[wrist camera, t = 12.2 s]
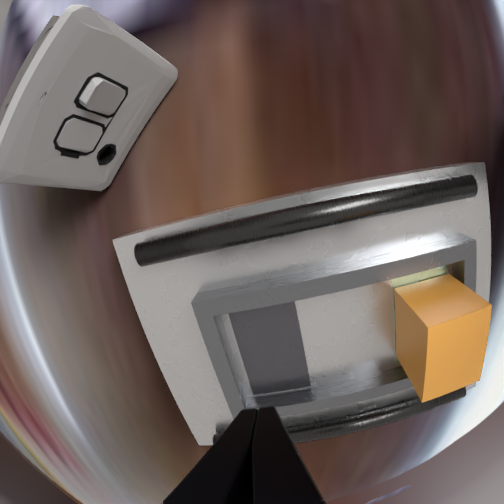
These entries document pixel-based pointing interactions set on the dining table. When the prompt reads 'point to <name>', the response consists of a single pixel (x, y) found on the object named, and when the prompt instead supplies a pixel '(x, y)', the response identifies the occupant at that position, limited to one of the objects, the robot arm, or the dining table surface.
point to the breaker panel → (304, 297)
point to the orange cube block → (440, 334)
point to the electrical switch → (79, 103)
